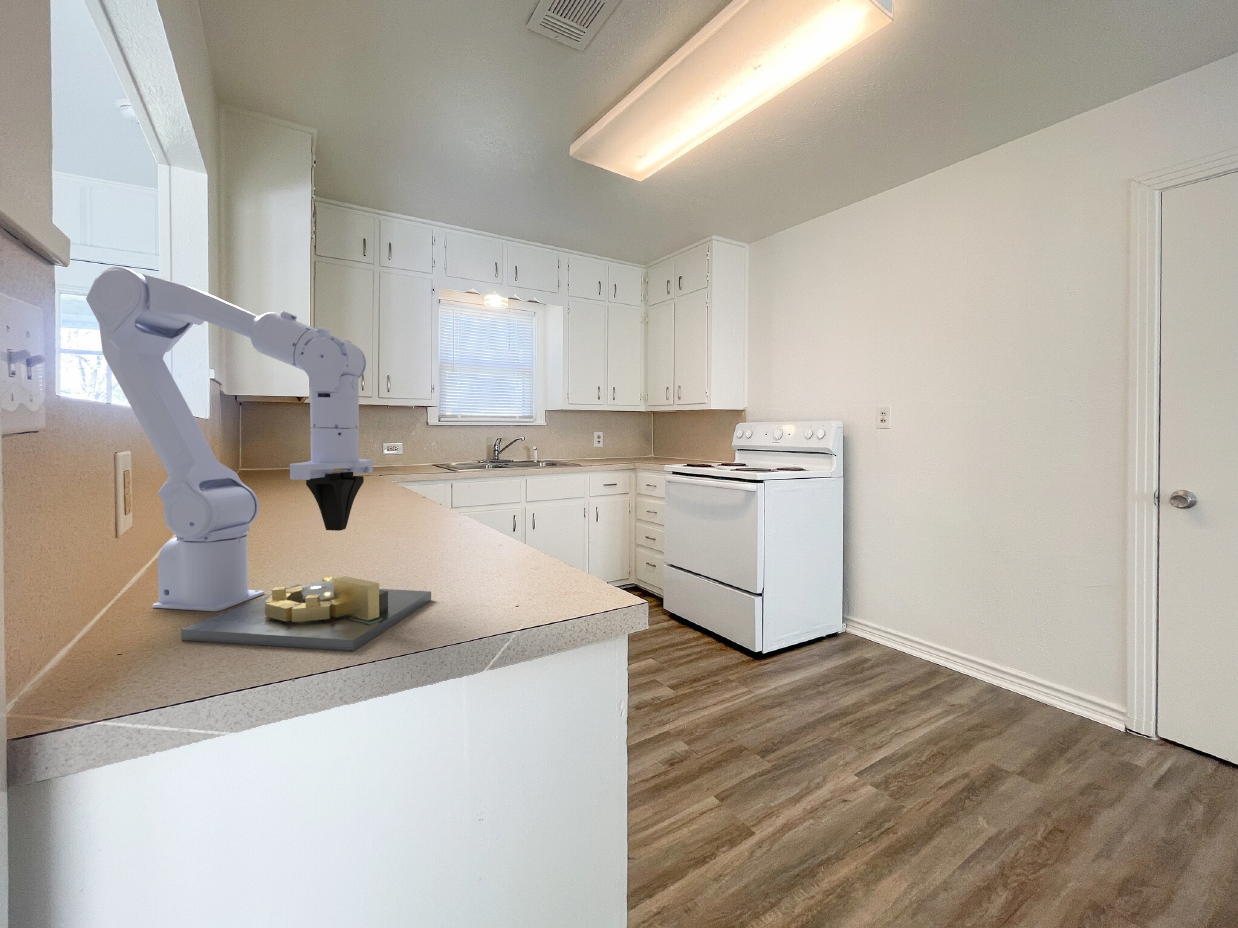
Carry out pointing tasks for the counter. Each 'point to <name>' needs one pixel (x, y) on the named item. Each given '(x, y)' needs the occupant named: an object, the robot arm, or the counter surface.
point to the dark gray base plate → (306, 622)
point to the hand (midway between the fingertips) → (335, 529)
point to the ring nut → (348, 600)
